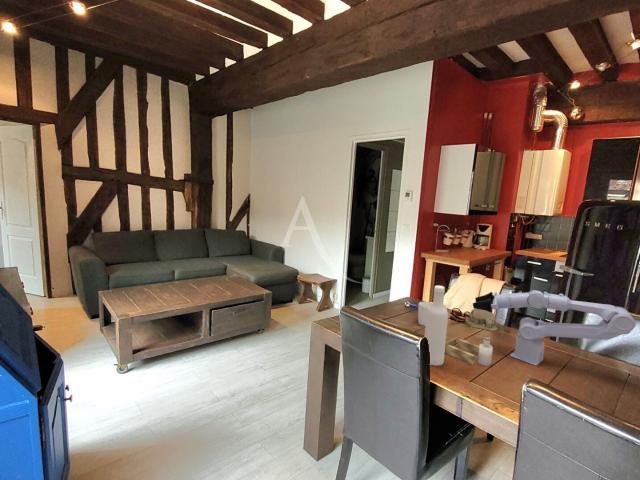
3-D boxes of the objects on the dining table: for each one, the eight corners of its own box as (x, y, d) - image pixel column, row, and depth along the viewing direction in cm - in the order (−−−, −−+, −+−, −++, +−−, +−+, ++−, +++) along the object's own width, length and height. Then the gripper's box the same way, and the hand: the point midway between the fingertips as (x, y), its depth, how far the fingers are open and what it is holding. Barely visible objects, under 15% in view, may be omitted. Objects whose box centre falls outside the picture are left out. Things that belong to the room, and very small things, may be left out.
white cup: (413, 321, 167) (415, 302, 166) (425, 319, 171) (427, 301, 169) (424, 327, 160) (426, 308, 159) (436, 325, 163) (438, 306, 162)
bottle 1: (445, 367, 124) (452, 290, 120) (423, 364, 126) (430, 288, 121) (441, 357, 132) (448, 284, 127) (421, 354, 134) (427, 282, 129)
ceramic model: (493, 323, 169) (495, 304, 167) (499, 332, 158) (501, 312, 156) (463, 320, 172) (465, 301, 170) (467, 328, 161) (470, 309, 159)
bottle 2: (492, 363, 128) (495, 338, 127) (487, 367, 125) (490, 341, 124) (481, 358, 132) (483, 333, 130) (475, 362, 129) (478, 336, 127)
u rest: (485, 356, 133) (486, 348, 133) (472, 364, 127) (473, 356, 126) (452, 343, 144) (453, 336, 144) (439, 350, 137) (440, 342, 137)
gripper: (509, 286, 140) (474, 289, 148) (507, 296, 128) (469, 298, 136) (512, 302, 140) (478, 304, 148) (511, 313, 128) (473, 315, 136)
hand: (474, 302), depth 142 cm, fingers open, 7 cm apart
